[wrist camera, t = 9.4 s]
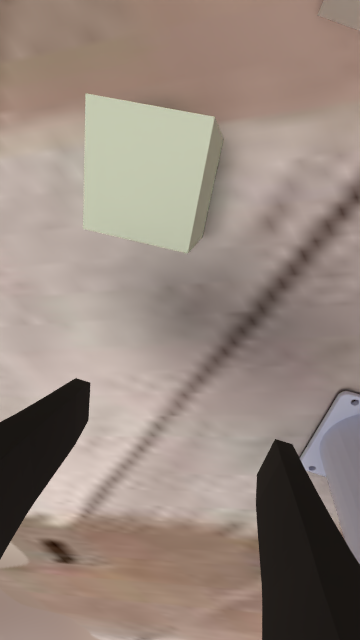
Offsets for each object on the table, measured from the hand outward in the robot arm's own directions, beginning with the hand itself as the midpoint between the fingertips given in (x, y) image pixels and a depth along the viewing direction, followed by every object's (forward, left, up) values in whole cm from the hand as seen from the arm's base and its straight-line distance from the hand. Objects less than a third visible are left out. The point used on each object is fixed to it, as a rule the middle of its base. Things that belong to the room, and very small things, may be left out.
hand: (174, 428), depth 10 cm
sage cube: (+4, -8, -10) cm, 13 cm away
